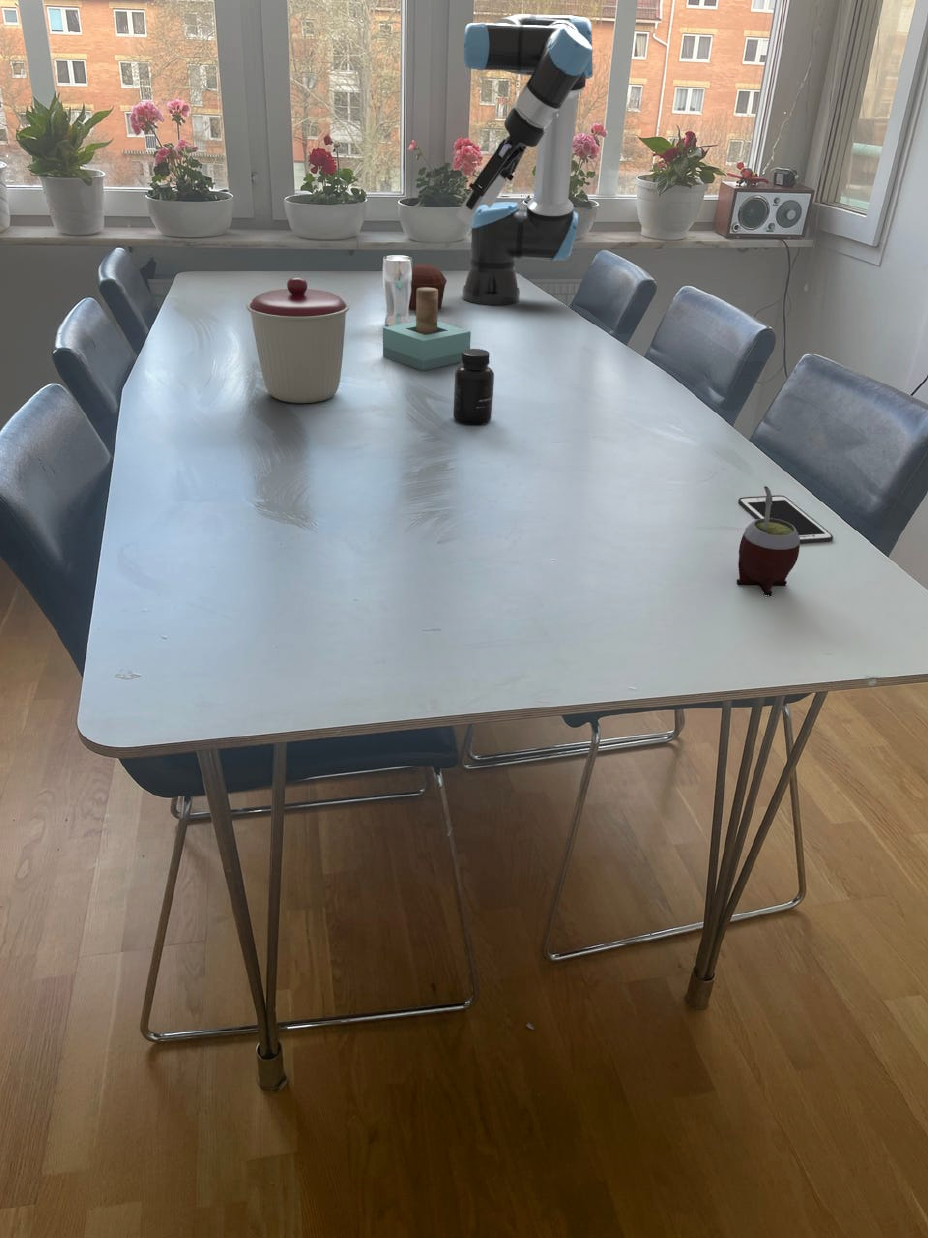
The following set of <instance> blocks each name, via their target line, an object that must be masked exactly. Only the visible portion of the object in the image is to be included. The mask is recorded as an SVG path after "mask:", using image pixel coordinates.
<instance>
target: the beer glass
mask: <svg viewBox="0 0 928 1238" xmlns="http://www.w3.org/2000/svg"><path fill="white" fill-rule="evenodd" d="M382 259H383V261H382V286H383V287H382V288H383V293H384V301H385V307H386V309H385V311H386V312H385V319H384V325H385V326H386V325H387V326H393V325H398V324H404V323H409V322H411V318H410V309H409V303H410V297H411V291H412V284H413V269H412V267H413V258H412V257H410V256H406V255H395V254H394V255H385V256H383V258H382ZM387 326H386V327H387Z"/></svg>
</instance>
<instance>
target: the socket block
mask: <svg viewBox="0 0 928 1238" xmlns="http://www.w3.org/2000/svg"><path fill="white" fill-rule="evenodd" d="M471 333H472V332H471V330H467V329H465V328H461V327H458V326H454V325H452V324H448V323H444V322H441V321H438V320H437V333H433V334H428V335H424V334H421V333H418V332H416V320H415V321H410V322H409V323H404V324H398V325H393V326H382V356H383V357H384V358H387V359H390V360H392V359H393V361H395V360H396V361H395V362H398V363H401V364H404V365H407V366H408V367H409V366H410V367H412V368H415V369H417V370H420V371H423V372H424V371H427V370H432V369H433V370H434V369H437V368H442V367H446V366H449V365H450V366H451V365H454V363H455V364H458V362H459V363H461V358H462V351H463V350H466V349H471ZM445 365H446V366H445ZM441 366H442V367H441Z"/></svg>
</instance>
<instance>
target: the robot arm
mask: <svg viewBox="0 0 928 1238" xmlns="http://www.w3.org/2000/svg"><path fill="white" fill-rule="evenodd" d="M463 35H464V36H463V63H464V66H465V67H466V68H467V69H470V70H478V71H502V72H503V71H504V72H506V73H512V74H515V75H521V76H523V75H525V76H530V77H529V79H528V81H527V82H526V83H525V85H524V87H523V88H522V90H521V92H520V93H519V95H518V96H517V98H516V101H515V105H514V106H512V108H511V110H510V111H509V113H508V115H507V117H506V118H505V120H504V123H503V125H504V128H505V130H506V131H507V132H508V135H509V136H507V137H506V138H504V139H503V140H502V141H500V143H499V144H498V147H497V148H496V150H495V151H494V153H492V156H491V157H490V158H489V160H488V161H487V163H486V165H485V166H484V168H483V169H482V170H481V172H479V174H478V176H477V177H476V178H475V180H474V182H473V183H472V182H470V184H469V185H468V188H470V189H471V190H470V192H469V193H468V195H467V197H466V198H465V200H464V202H463V203H462V205H461V207H460V208H459V210H458V212H457V213H456V215H455V217H456V218H457V219H459V220H460V221H461V222H463V223H464V224H465V225H466V226H468V225H469V223H470V222H471V225H470V228H471V241H470V242H471V243H470V245H471V246H470V262H469V263H470V265H469V269H468V273H467V276H466V280H465V283H464V285H463V286H462V287H463V288H462V295H461V296H462V299H463V300H465V301H467V302H471V303H474V304H481V305H491V306H492V305H498V306H501V305H510V304H511V305H512V304H515V303H517V302H519V301H520V296H521V295H520V293H521V291H520V288H519V286H518V285H519V284H518V280H517V275H516V269H515V266H516V259H522V260H523V259H525V260H527V259H528V260H540V261H549V262H553V261H566V260H567V259H569V258H570V256H571V254H572V251H573V247H574V244H575V238H576V234H577V228H578V225H579V224H578V222H579V213H578V212H576V211H574V208H575V207H574V204H573V202H572V201H571V200H570V199H569V194H570V183H571V175H572V174H571V172H572V162H573V150H574V139H575V128H576V117H577V107H578V97H579V96H578V95H579V94H580V93H581V92H582V91H583V90H584V89H585V88H586V82H587V80H589V79H591V78H593V75H594V74H593V73H594V70H593V68H594V67H593V53H594V52H593V50H594V49H593V25H592V22H591V21H590V19H589V18H587V17H583V16H582V17H581V16H576V15H575V16H574V15H572V14H570V15H564V14H563V15H560V14H529V13H527V14H526V13H523V14H515V15H514V14H513V15H509V16H505V17H501V18H498V19H495V20H493V21H491V22H490V23H485V22H479V23H478V22H475V23H468V24H467V25H466V26H465V28H464V34H463ZM527 147H529V148H535V147H536V159H535V162H536V163H535V173H534V174H535V175H534V188H533V197H532V198H531V199H530V200H528V202H527V204H526V205H527V206H526V209H520V206H519V204H518V202H515V201H514V202H509V201H503V202H495V201H496V199H497V198H498V197H499V195H500V193H501V191H502V190H503V188H504V187H505V185H506V183H507V182H508V180H509V181H510V182H511V181H512V180H513V179H514V177H515V175H513V174H515V172H516V169H517V168H518V166H519V163H520V161H521V159H522V157H523V155H524V154H525V151H526V149H527ZM481 203H483V205H481Z"/></svg>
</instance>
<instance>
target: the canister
mask: <svg viewBox="0 0 928 1238" xmlns="http://www.w3.org/2000/svg"><path fill="white" fill-rule="evenodd" d="M245 307H246V310H247V312H248V313H250V316H251V321H252V322H251V323H252V328H253V333H254V338H255V343H256V349H257V355H258V361H259V365H260V369H261V370H260V371H261V375H262V380H263V383H264V387H265V388H266V390H267V392H268V393H269V395H271V396H272V397H273V398H274V399H276V400H279V401H282V402H284V403H285V402H287V403H292V404H293V403H294V404H312V403H319V402H323V401H325V400H329V399H330V398H332V397H334V395H335V394H336V393H337V391H338V389H339V388H340V383H341V377H342V376H341V375H342V369H343V367H342V366H343V357H344V345H345V344H344V343H345V332H346V331H345V330H346V316H347V312H348V311H349V310H350V304H349V302H348V301H346V300H345V299H343V298H342V297H341V296H339V295H337V294H334V293H333V292H328V291H324V290H319V289H312V288H311V289H310V288H308V282H307V281H306V279H305V278H303V277H300V276H299V277H298V276H294V277H290V278H289V279H288V281H287V282H286V288H285V289H275V290H269V291H266V292H263V293H260V294H258V295H256V296H254V298H253V299H251V300H249V301H248V302H246V304H245Z"/></svg>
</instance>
